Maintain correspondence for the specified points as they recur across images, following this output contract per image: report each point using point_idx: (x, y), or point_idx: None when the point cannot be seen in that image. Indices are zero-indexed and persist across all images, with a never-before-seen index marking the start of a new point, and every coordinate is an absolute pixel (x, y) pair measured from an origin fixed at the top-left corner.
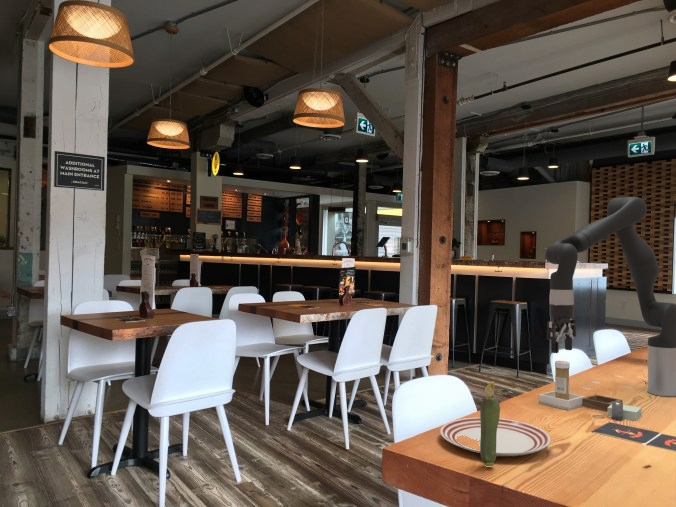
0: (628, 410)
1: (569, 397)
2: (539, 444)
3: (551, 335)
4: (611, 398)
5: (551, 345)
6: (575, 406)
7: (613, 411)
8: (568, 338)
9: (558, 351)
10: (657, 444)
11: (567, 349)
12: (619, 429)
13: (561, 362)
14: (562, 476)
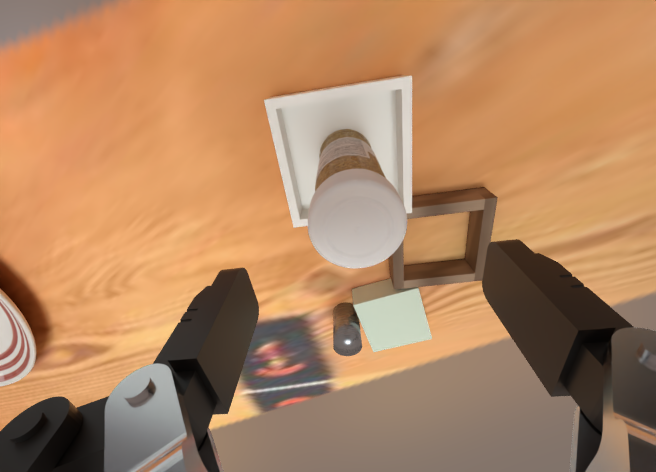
0: (373, 338)
1: (399, 152)
2: (10, 360)
3: (109, 468)
4: (478, 255)
5: (173, 335)
6: None
7: (334, 325)
8: (577, 379)
9: (255, 321)
10: (264, 400)
11: (487, 263)
12: (277, 346)
13: (327, 245)
14: (15, 404)
